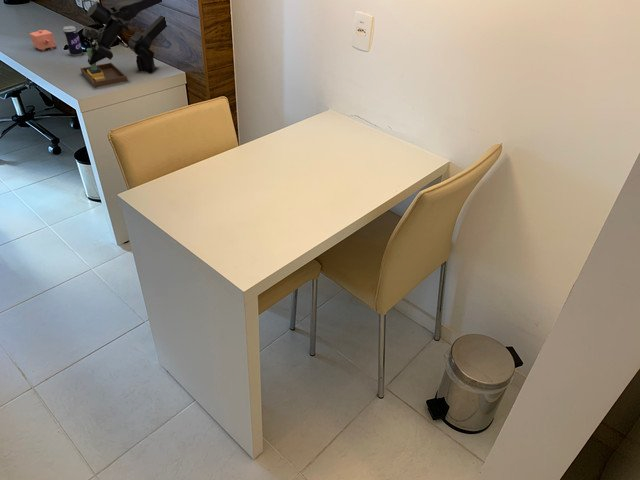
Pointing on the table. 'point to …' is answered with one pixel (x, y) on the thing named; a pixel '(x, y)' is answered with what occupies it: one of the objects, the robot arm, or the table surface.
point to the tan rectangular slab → (99, 78)
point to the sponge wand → (93, 67)
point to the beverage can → (72, 40)
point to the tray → (106, 75)
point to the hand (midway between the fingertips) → (89, 63)
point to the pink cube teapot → (43, 39)
